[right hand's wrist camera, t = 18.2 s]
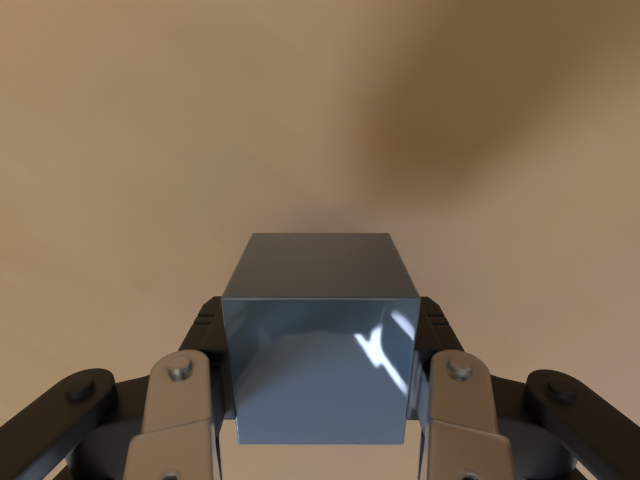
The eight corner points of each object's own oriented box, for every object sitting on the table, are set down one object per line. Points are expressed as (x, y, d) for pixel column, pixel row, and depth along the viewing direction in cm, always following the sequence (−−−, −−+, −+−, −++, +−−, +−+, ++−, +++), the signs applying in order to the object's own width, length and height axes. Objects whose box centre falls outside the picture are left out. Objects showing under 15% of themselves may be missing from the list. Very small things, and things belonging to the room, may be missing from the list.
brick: (381, 348, 14) (404, 446, 10) (260, 348, 14) (237, 446, 10) (389, 232, 12) (422, 297, 8) (251, 232, 12) (219, 297, 8)
